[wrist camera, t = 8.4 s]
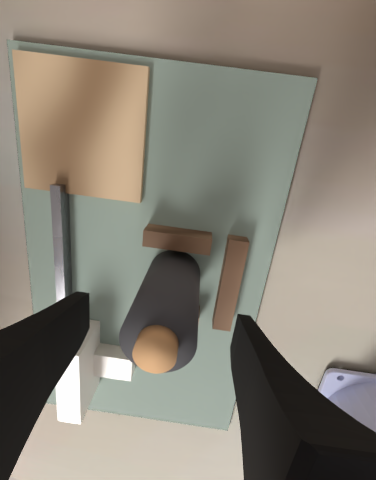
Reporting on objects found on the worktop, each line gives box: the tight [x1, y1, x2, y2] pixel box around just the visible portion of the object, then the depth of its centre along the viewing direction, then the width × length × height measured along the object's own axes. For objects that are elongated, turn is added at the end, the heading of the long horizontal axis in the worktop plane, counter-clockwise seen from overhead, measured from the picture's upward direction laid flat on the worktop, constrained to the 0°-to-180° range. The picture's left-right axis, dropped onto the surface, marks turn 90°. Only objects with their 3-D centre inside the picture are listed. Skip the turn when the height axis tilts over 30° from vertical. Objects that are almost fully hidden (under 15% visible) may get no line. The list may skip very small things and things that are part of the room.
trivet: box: [12, 49, 150, 203], centre depth 15 cm, size 7×7×1 cm
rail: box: [50, 183, 72, 302], centre depth 18 cm, size 1×16×1 cm, turn 173°
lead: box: [119, 250, 200, 374], centre depth 14 cm, size 3×3×7 cm
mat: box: [7, 40, 318, 431], centre depth 18 cm, size 16×26×1 cm, turn 173°
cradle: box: [142, 223, 250, 332], centre depth 17 cm, size 6×6×1 cm
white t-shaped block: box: [55, 320, 135, 424], centre depth 18 cm, size 4×6×3 cm
